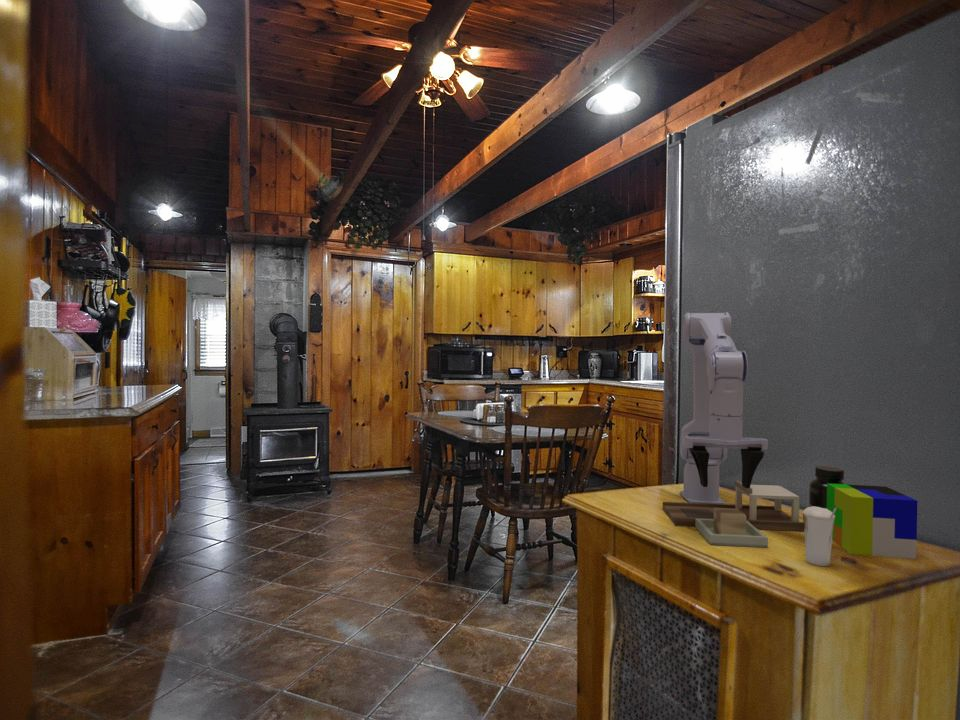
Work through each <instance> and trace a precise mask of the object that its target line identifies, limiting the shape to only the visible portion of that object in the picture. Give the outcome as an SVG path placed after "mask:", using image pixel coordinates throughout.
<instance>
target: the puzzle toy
mask: <svg viewBox="0 0 960 720" xmlns="http://www.w3.org/2000/svg"><path fill="white" fill-rule="evenodd" d="M918 501H919V500H917V499H915V498H912V497H911V496H908V495H906V494H904V493H901V492H900V491H896V489H895V490H894V489H892V488H890V487H887V486H882V485H879V486H878V485H866V484H865V485H864V484H863V485H862V484H859V485H858V484H846V483H845V484H827V509H828V510H829V511H831V512H833V510H834V508H837V509H836V511H835V513H834V515H835V521H834V528H833V536H832V542H834V543H835V544H836V545H838V546H839V547H841V548H842V549H844V551H846V552H847V553H849V554H850V555H860V556H873V557H886V558H900V559H910V560H911V559H914V560H916V559H917V548H918V547H917V541H918Z"/></svg>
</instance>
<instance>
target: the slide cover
mask: <svg viewBox="0 0 960 720" xmlns="http://www.w3.org/2000/svg"><path fill="white" fill-rule="evenodd" d="M734 486H735V493H734V494H735V497H734V498H735V499H734V500H735V508H736V509H742V505H743V493H744V494H745V495H747V496H748V497H749V504H748V505H749V519H750V520H756V517H757V505H758V504H757V503H758V499H768V500H769V499H772V500H773V501H774V505H773V506H774V509H775V510H776V511H781V510H782V500H791V509H790V510H791V512H790V513H791V515H790V516H791V521H793V522H800V496H799V495H797V494H795V493H793V492H792V491H790V490H788V489H786V488H784V487H783V486H782V485H771V484H769V485H767V484H751V485H750V488H745V487H743V486H742V480H734Z"/></svg>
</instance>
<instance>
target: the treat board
mask: <svg viewBox="0 0 960 720" xmlns="http://www.w3.org/2000/svg"><path fill="white" fill-rule="evenodd" d="M749 505H750V504H742V509H739V510H740V511H741V512H743V513H744V514H745V515H746V521H748V522H749V523H751V524H752V525H753V526H754V527H756V528H757V529H758V530H759V531H761V530H764V531H786V532H804V521H799V522H793V521H791V515H789V514H788V513H787V512H785V511H784V510H782V509H781V511H776V510H775V509H774V505H760V504H757V517H756V520H750V519H749ZM714 508H732V509H736V508H735V504H733V503H732V504H731V503H729V504H728V503H725V504H710V503H689V502H684V501H683V502H679V501H678V502H677V501H662V510H663V511H664V513H665V514H666V515H667V517H668V518H669V519H670V521H672V523H673V524H674V525H675V527H689V528H690V527H694V528H695V519H714Z"/></svg>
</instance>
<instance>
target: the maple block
mask: <svg viewBox="0 0 960 720" xmlns="http://www.w3.org/2000/svg"><path fill="white" fill-rule="evenodd" d="M714 531H715V533H716V534H726V535H746V515H745V514H744V513H743V512H741V511H740V510H739V509H732V508H714Z"/></svg>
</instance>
